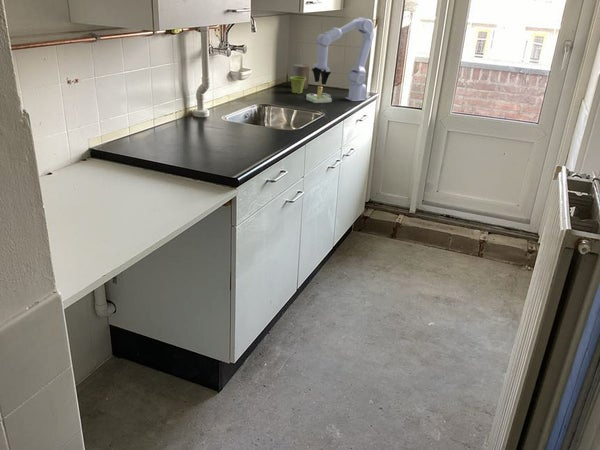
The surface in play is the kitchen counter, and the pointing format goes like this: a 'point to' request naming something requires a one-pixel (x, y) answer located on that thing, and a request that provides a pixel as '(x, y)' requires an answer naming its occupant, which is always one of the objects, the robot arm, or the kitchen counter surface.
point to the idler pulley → (311, 94)
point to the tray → (314, 99)
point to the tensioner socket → (326, 95)
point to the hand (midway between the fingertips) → (320, 82)
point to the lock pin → (319, 92)
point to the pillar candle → (302, 73)
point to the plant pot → (297, 84)
